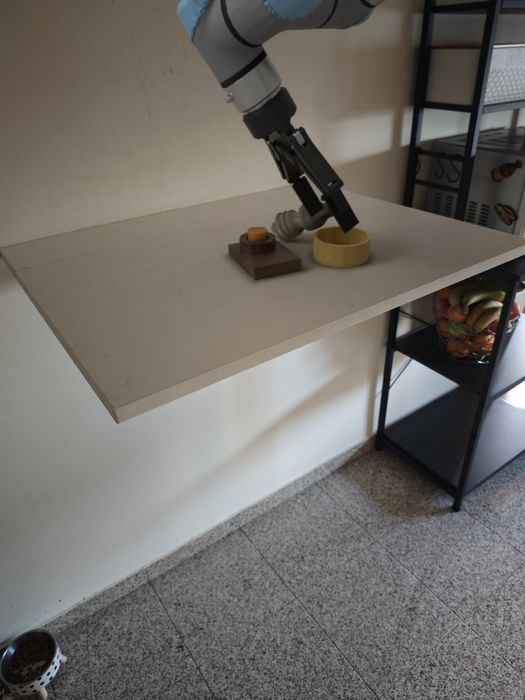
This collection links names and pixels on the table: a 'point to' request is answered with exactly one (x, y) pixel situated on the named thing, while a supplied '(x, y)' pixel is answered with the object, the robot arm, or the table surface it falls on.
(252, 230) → the lamp button
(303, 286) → the table surface
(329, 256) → the lamp holder
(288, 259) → the switch box
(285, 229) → the light bulb
